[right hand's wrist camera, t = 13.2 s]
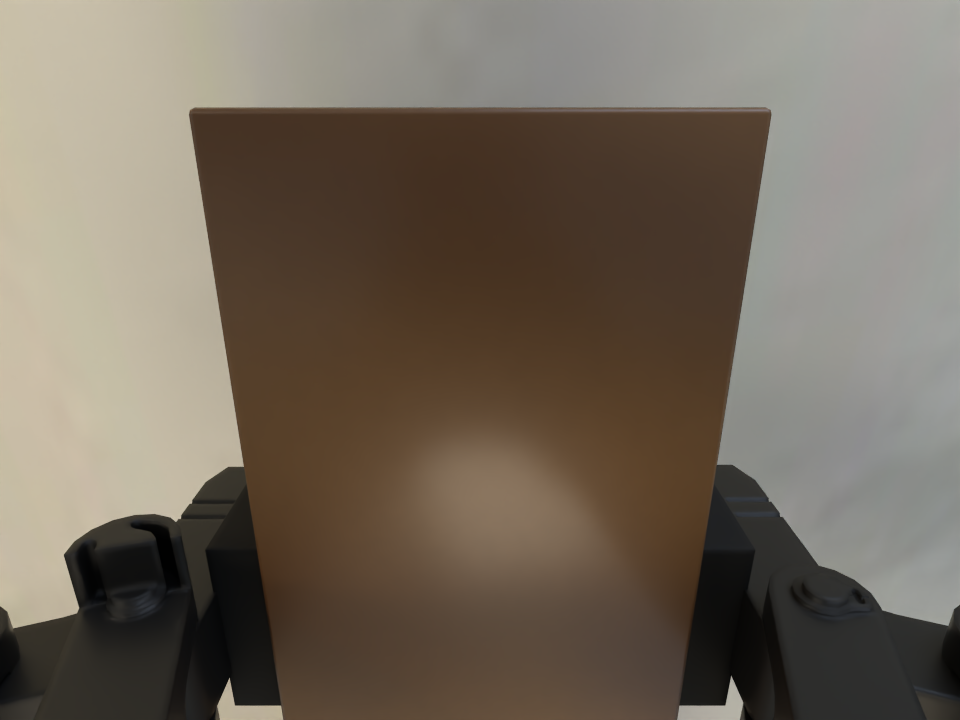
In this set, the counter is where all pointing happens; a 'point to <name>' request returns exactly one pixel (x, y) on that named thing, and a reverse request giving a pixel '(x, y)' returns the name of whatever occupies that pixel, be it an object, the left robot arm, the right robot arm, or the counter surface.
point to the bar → (480, 394)
